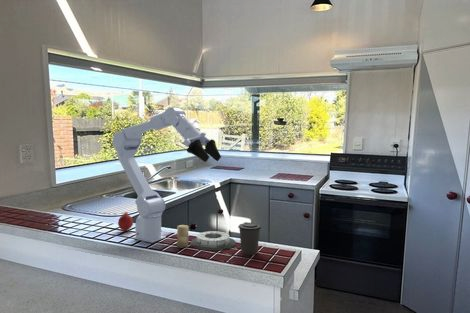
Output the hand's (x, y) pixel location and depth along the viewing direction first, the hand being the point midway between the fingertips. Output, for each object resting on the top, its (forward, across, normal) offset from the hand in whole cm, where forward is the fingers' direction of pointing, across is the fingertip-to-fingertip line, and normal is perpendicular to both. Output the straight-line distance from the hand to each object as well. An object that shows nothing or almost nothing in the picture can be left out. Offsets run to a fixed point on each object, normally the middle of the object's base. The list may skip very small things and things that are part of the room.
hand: (213, 159), depth 113 cm
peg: (+12, 0, +32) cm, 34 cm away
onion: (-11, +3, +53) cm, 54 cm away
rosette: (+18, +8, +27) cm, 33 cm away
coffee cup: (+30, +6, +16) cm, 35 cm away
